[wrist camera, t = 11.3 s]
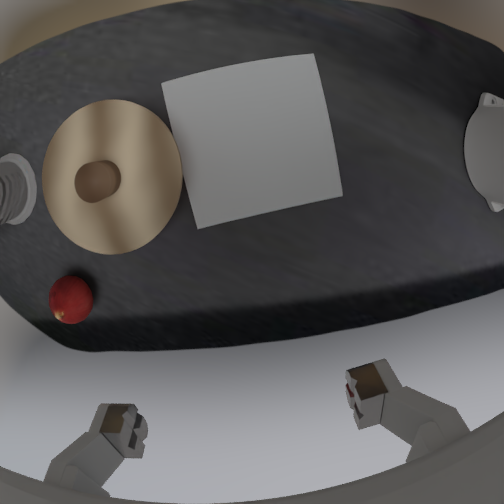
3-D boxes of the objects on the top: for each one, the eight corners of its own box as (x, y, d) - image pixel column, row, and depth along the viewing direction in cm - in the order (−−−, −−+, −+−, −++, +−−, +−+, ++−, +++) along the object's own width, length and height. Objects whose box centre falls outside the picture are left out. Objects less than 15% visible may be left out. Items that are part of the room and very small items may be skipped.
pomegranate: (70, 305, 36) (44, 336, 29) (59, 266, 34) (29, 294, 27) (105, 305, 37) (83, 339, 29) (96, 265, 35) (69, 294, 27)
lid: (162, 79, 23) (153, 69, 20) (200, 230, 29) (197, 243, 25) (33, 134, 23) (12, 135, 20) (72, 265, 29) (56, 280, 25)
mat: (312, 54, 28) (313, 53, 28) (341, 195, 34) (342, 195, 34) (161, 84, 28) (161, 83, 28) (198, 228, 34) (197, 229, 34)
